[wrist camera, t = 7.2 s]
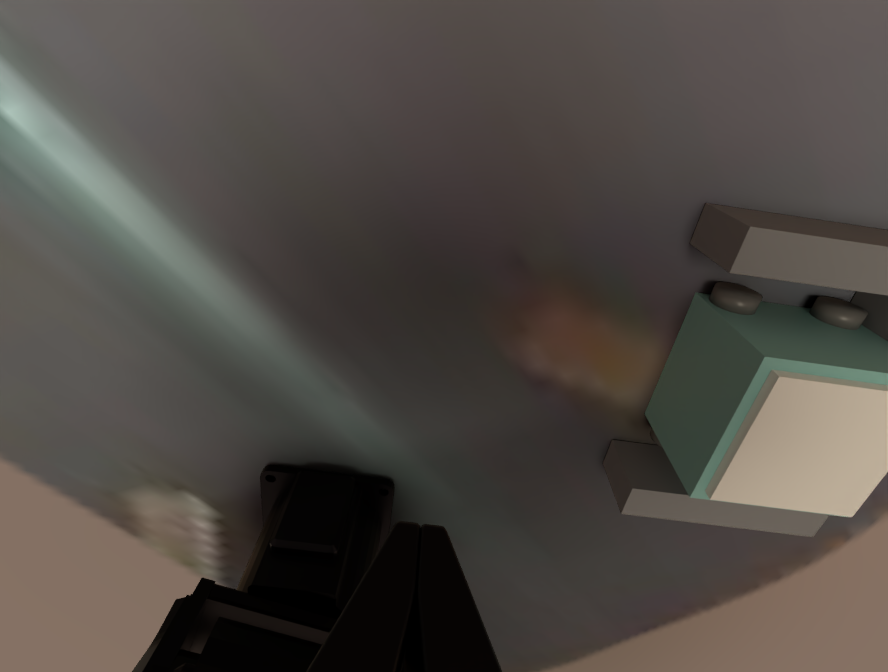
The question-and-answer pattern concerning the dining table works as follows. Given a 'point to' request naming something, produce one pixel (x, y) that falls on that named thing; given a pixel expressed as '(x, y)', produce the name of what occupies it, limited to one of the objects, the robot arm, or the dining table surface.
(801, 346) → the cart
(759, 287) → the dining table surface
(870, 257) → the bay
